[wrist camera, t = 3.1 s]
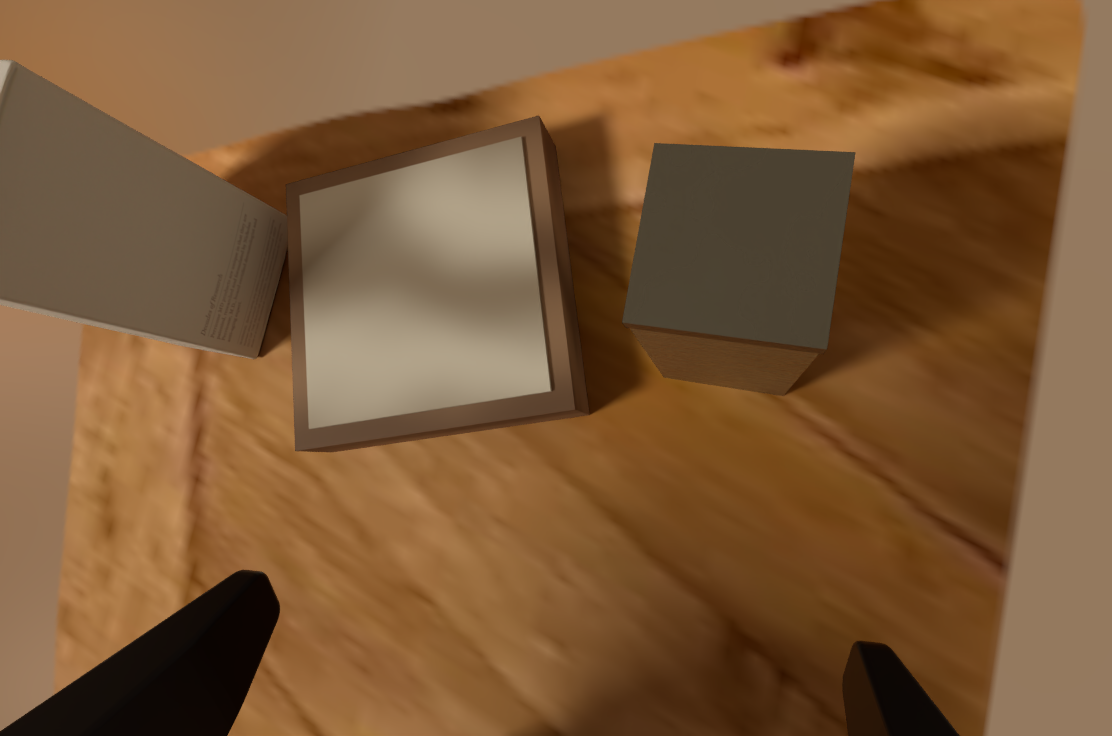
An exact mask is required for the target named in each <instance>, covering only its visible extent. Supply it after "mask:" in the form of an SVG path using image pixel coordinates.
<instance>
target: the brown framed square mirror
mask: <svg viewBox="0 0 1112 736" xmlns="http://www.w3.org/2000/svg"><path fill="white" fill-rule="evenodd" d="M286 204H287V232H288V260H289V288H290V316H291V344H292V372H293V401H294V429H295V451H310V452H337V451H344V450H351V449H358V448H365V447H372V446H379V445H386V444H393V443H399V442H406V441H413V440H420V439H427V438H434V437H441V436H448V435H455V434H462V433H468V432H475V431H482V430H489V429H496V428H503V427H510V426H517V425H524V424H531V423H537V422H544V421H551V420H558V419H565V418H572V417H579V416H586V415H590V414H589V406H588V398H587V391H586V383H585V375H584V367H583V359H582V351H581V343H580V335H579V328H578V320H577V312H576V304H575V296H574V288H573V280H572V272H571V264H570V257H569V249H568V241H567V233H566V225H565V217H564V209H563V201H562V193H561V186H560V178H559V170H558V162H557V154H556V146H555V144H554V143H553V141H552V139H551V137H550V135H549V133H548V131H547V129H546V128H545V126H544V124H543V122H542V120H541V118H540V116H535V117H532V118H528V119H524V120H521V121H517V122H513V123H510V124H506V125H502V126H499V127H495V128H491V129H488V130H484V131H480V132H477V133H473V134H469V135H466V136H462V137H458V138H455V139H451V140H447V141H444V142H440V143H436V144H432V145H429V146H425V147H421V148H418V149H414V150H410V151H407V152H403V153H399V154H396V155H392V156H388V157H385V158H381V159H377V160H374V161H370V162H366V163H363V164H359V165H355V166H352V167H348V168H344V169H341V170H337V171H333V172H330V173H326V174H322V175H319V176H315V177H311V178H308V179H304V180H300V181H297V182H293V183H289V184H286Z"/></svg>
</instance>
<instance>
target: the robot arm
mask: <svg viewBox="0 0 1112 736" xmlns="http://www.w3.org/2000/svg"><path fill="white" fill-rule="evenodd" d="M279 613H280V604H279V601H278V599H277V596H276V594H275V592H274V590H273V587H272V585H271V583H270V581H269V578H268V576H267V575H266V574H265V573H263V572H260V571H252V570H240V571H237V572H235V573H233V574H232V575H230V576H229V577H227V578H226V579H225V580H223V581H222V582H220V583H219V584H217V585H216V586H214V587H213V588H211V589H210V590H208V591H207V592H205V593H204V594H202V595H201V596H199V597H198V598H196V599H195V600H193V601H192V602H191V603H189V604H188V605H186V606H185V607H183V608H182V609H180V610H179V611H177V612H176V613H174V614H173V615H171V616H170V617H168V618H167V619H165V620H164V621H162V622H161V623H159V624H158V625H157V626H155V627H154V628H152V629H151V630H149V631H148V632H146V633H145V634H143V635H142V636H140V637H139V638H137V639H136V640H134V641H133V642H131V643H130V644H128V645H127V646H126V647H124V648H123V649H121V650H120V651H118V652H117V653H115V654H114V655H112V656H111V657H109V658H108V659H106V660H105V661H103V662H102V663H100V664H99V665H97V666H96V667H94V668H93V669H92V670H90V671H89V672H87V673H86V674H84V675H83V676H81V677H80V678H78V679H77V680H75V681H74V682H72V683H71V684H69V685H68V686H66V687H65V688H63V689H62V690H61V691H59V692H58V693H56V694H55V695H53V696H52V697H50V698H49V699H48V700H46V701H44V702H43V703H41V704H40V705H38V706H37V707H35V708H34V709H33V710H31V711H29V712H28V713H27V714H25V715H24V716H22V717H21V718H19V719H18V720H16V721H15V722H13V723H12V724H10V725H9V726H7V727H6V728H4V729H3V730H1V731H0V736H227V735H228V733H229V731H230V729H231V727H232V725H233V723H234V721H235V719H236V717H237V715H238V713H239V711H240V709H241V707H242V704H243V702H244V700H245V698H246V695H247V693H248V691H249V688H250V686H251V683H252V681H253V679H254V676H255V674H256V671H257V669H258V667H259V664H260V662H261V659H262V657H263V654H264V652H265V650H266V647H267V645H268V642H269V640H270V638H271V635H272V633H273V630H274V628H275V626H276V623H277V621H278V618H279ZM842 686H843V698H844V706H845V713H846V721H847V729H848V736H959V734H958V733H957V732H956V730H955V729H954V728H953V727H952V725H951V724H950V723H949V722H948V720H947V719H946V718H945V716H944V715H943V714H942V713H941V711H940V710H939V709H938V708H937V706H936V705H935V704H934V702H933V701H932V700H931V699H930V697H929V696H928V695H927V694H926V692H925V691H924V690H923V688H922V687H921V686H920V685H919V683H918V682H917V681H916V680H915V678H914V677H913V676H912V674H911V673H910V672H909V671H908V669H907V668H906V667H905V666H904V664H903V663H902V662H901V660H900V659H899V658H898V657H897V655H896V654H895V653H894V652H893V650H892V649H891V648H890V647H888V646H887V645H885V644H882V643H875V642H867V641H856V642H855V643H854V644H853V646H852V648H851V652H850V655H849V658H848V661H847V665H846V668H845V671H844V674H843V684H842Z"/></svg>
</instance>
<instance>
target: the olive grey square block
mask: <svg viewBox="0 0 1112 736" xmlns="http://www.w3.org/2000/svg"><path fill="white" fill-rule="evenodd" d="M854 159H855V152H835V151H813V150H791V149H770V148H748V147H726V146H704V145H682V144H660V143H654V149H653V154H652V160H651V165H650V171H649V176H648V182H647V187H646V193H645V198H644V204H643V210H642V215H641V221H640V226H639V232H638V237H637V243H636V248H635V254H634V259H633V265H632V270H631V276H630V281H629V287H628V293H627V298H626V304H625V309H624V315H623V320H622V323H623V324H624V326H625V327H626V328H630V329H631V331H632V332H633V334H634V335H635V337H636V338H637V339H638V341H639V342H640V344H641V345H642V347H643V348H644V350H645V351H646V352H647V354H648V355H649V357H650V358H651V360H652V361H653V363H654V364H655V365H656V367H657V368H658V370H659V371H660V373H661V374H662V376H663V377H664V378H671V379H677V380H684V381H690V382H696V383H703V384H709V385H716V386H722V387H729V388H735V389H742V390H748V391H754V392H761V393H767V394H774V395H780V396H784V394H785V393H786V392H787V391H788V390H789V389H790V387H791V386H792V385H793V384H794V383H795V382H796V380H797V379H798V378H799V377H800V376H801V374H802V373H803V372H804V371H805V370H806V369H807V367H808V366H809V365H810V364H811V363H812V362H813V360H814V359H815V358H816V357H817V356H818V354H823V353H824V352H825V351H826V350H827V346H828V339H829V332H830V325H831V318H832V311H833V304H834V297H835V290H836V283H837V277H838V270H839V263H840V256H841V249H842V242H843V235H844V228H845V221H846V214H847V207H848V200H849V193H850V186H851V179H852V172H853V165H854Z"/></svg>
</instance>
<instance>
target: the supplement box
mask: <svg viewBox="0 0 1112 736" xmlns="http://www.w3.org/2000/svg"><path fill="white" fill-rule="evenodd" d="M287 248H288V232H287V215H285V214H283V213H282V212H280V211H278V210H276V209H275V208H273V207H271V206H269V205H268V204H266V203H264V202H262V201H261V200H259V199H257V198H255V197H254V196H252V195H250V194H248V193H246V192H245V191H243V190H241V189H239V188H237V187H236V186H234V185H232V184H230V183H228V182H227V181H225V180H223V179H221V178H220V177H218V176H216V175H214V174H213V173H211V172H209V171H207V170H206V169H204V168H202V167H200V166H199V165H197V164H195V163H193V162H191V161H190V160H188V159H186V158H184V157H183V156H181V155H179V154H177V153H175V152H173V151H172V150H170V149H168V148H166V147H165V146H163V145H161V144H159V143H157V142H156V141H154V140H152V139H150V138H149V137H147V136H145V135H143V134H142V133H140V132H138V131H136V130H134V129H133V128H130V127H129V126H127V125H125V124H124V123H122V122H120V121H118V120H117V119H115V118H113V117H111V116H110V115H108V114H106V113H104V112H103V111H101V110H99V109H97V108H95V107H93V106H92V105H90V104H88V103H87V102H85V101H83V100H82V99H80V98H78V97H76V96H74V95H73V94H71V93H69V92H67V91H66V90H64V89H62V88H60V87H58V86H57V85H55V84H53V83H52V82H50V81H48V80H46V79H45V78H43V77H41V76H39V75H37V74H35V73H34V72H32V71H30V70H28V69H27V68H25V67H24V66H22V65H20V64H19V63H17V62H15V61H13V60H0V305H3V306H8V307H12V308H17V309H21V310H26V311H30V312H34V313H38V314H43V315H47V316H52V317H56V318H60V319H65V320H69V321H74V322H79V323H83V324H87V325H92V326H96V327H101V328H105V329H110V330H114V331H119V332H123V333H128V334H132V335H136V336H141V337H145V338H149V339H154V340H158V341H162V342H167V343H171V344H176V345H180V346H185V347H190V348H196V349H201V350H206V351H212V352H217V353H223V354H228V355H234V356H240V357H245V358H250V359H256V358H257V357H258V353H259V350H260V347H261V343H262V340H263V336H264V333H265V329H266V325H267V322H268V318H269V314H270V311H271V307H272V304H273V300H274V296H275V292H276V289H277V286H278V282H279V278H280V274H281V270H282V266H283V263H284V259H285V255H286V251H287Z"/></svg>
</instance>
